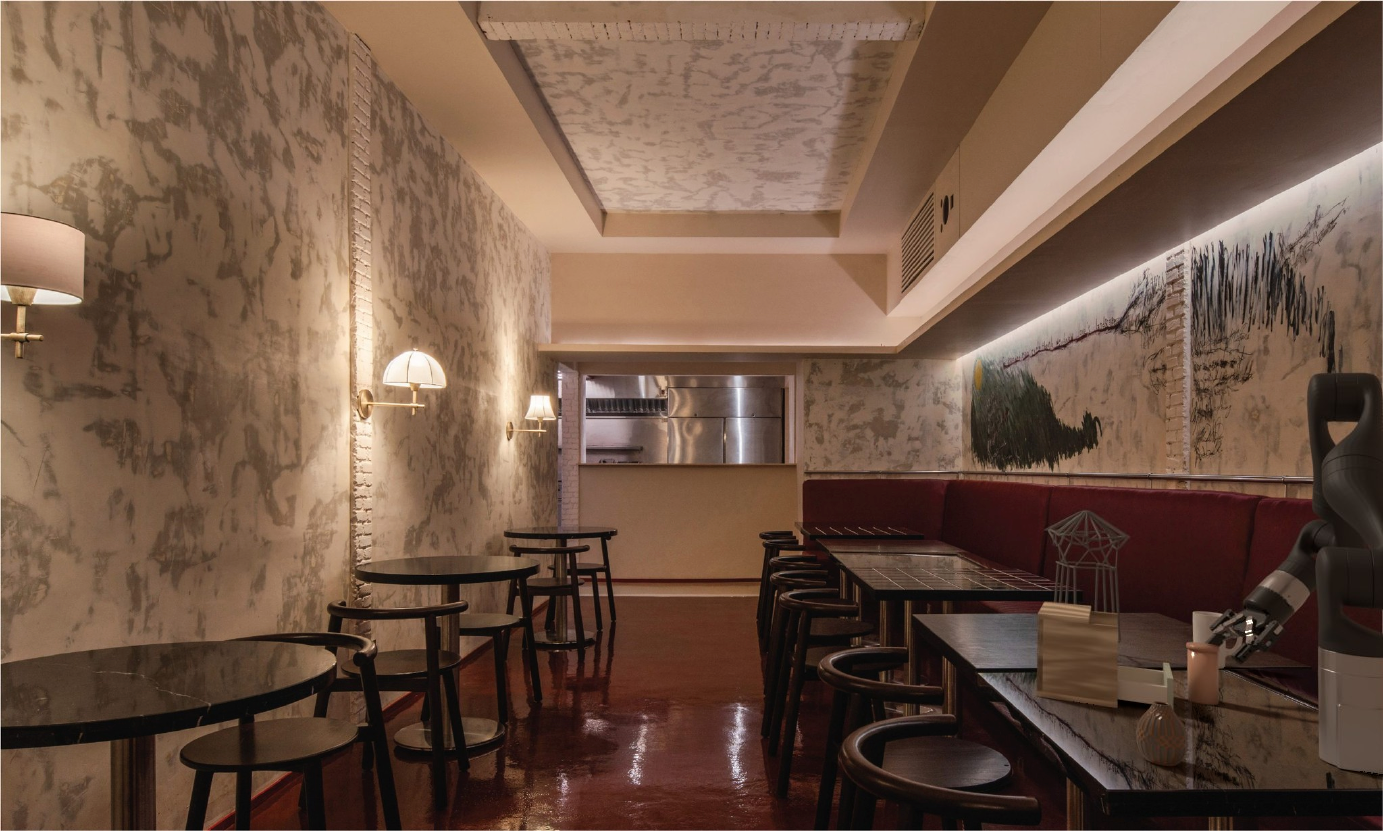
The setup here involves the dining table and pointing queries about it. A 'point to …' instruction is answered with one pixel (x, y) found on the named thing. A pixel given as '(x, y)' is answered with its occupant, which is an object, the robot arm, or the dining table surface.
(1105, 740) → the dining table surface
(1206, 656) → the canister
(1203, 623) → the mug
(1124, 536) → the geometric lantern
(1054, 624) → the housing
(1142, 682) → the tray
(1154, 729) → the vase
